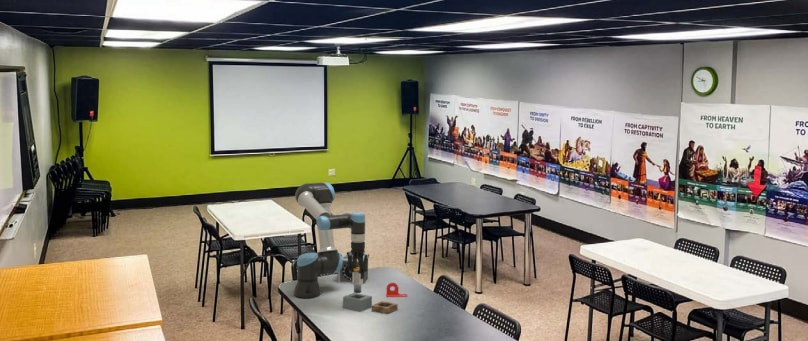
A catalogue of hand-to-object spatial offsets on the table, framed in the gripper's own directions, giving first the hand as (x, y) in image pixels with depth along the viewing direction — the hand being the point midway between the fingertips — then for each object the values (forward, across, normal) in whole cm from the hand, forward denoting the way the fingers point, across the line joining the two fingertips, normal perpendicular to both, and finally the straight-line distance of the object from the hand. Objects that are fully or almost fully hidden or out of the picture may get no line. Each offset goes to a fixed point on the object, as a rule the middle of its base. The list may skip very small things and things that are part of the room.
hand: (357, 284), depth 342 cm
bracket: (+13, +7, +30) cm, 33 cm away
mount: (+13, +15, +4) cm, 20 cm away
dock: (+13, 0, 0) cm, 13 cm away
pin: (+4, 0, 0) cm, 4 cm away
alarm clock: (+13, -31, +39) cm, 52 cm away
